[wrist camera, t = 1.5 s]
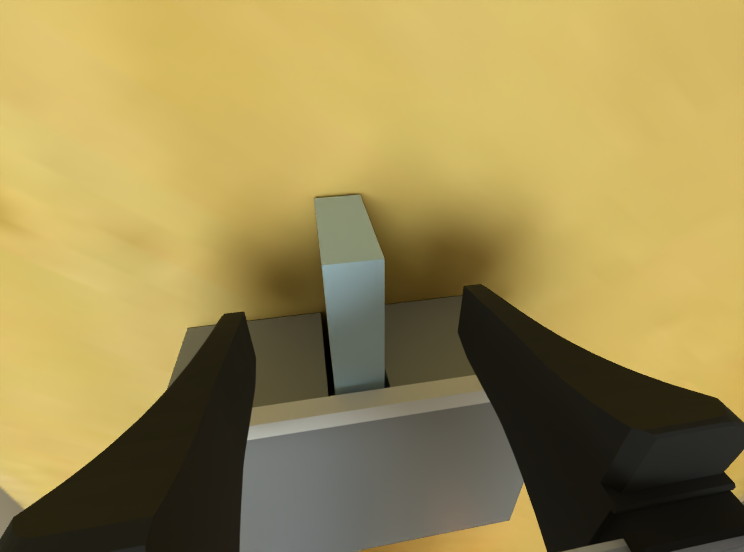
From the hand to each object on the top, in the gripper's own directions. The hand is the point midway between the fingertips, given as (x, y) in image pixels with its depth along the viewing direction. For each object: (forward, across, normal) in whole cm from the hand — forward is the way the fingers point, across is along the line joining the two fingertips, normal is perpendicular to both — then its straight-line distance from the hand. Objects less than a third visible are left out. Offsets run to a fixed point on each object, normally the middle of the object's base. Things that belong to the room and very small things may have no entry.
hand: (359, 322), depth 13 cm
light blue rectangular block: (+6, 0, +5) cm, 8 cm away
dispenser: (+6, 0, +10) cm, 12 cm away
